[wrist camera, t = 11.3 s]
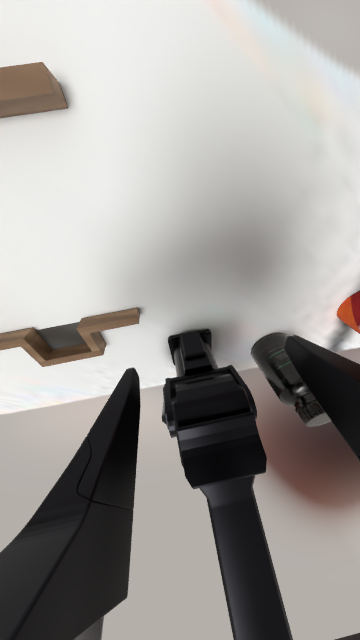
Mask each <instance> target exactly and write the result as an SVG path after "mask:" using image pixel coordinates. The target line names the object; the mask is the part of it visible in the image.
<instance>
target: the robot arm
mask: <svg viewBox="0 0 360 640" xmlns="http://www.w3.org/2000/svg"><path fill="white" fill-rule="evenodd" d="M168 343H169V347H170V351H171V355H172V359H173V363H174V365H175V366H176V372H177V377H175V378H167V379H166V384H165V387H164V388H163V392H164V393H163V394H164V403H163V411H162V421H163V422H164V423H165V424H166V425H167V427H168V429H169V432H170V435H171V438H173V437H177V440H178V445H179V451H180V457H181V463H182V466H183V468H184V471H185V477H186V479H187V480H188V482H189V483H190V485H191V487H192V488H193V489H197V488H200V490H201V491H202V492H203V494H204V495H205V496H206V498H207V502H208V507H209V512H210V518H211V523H212V528H213V533H214V538H215V544H216V549H217V554H218V560H219V564H220V570H221V575H222V580H223V585H224V591H225V595H226V601H227V606H228V611H229V617H230V622H231V627H232V632H233V638H234V640H293V639H292V635H291V631H290V627H289V623H288V620H287V616H286V612H285V608H284V605H283V601H282V597H281V593H280V589H279V586H278V582H277V578H276V574H275V570H274V567H273V563H272V559H271V555H270V552H269V548H268V544H267V540H266V537H265V533H264V530H263V525H262V522H261V518H260V514H259V510H258V506H257V503H256V499H255V495H254V491H253V483H254V479H255V475H257V474H262V473H265V472H266V461H267V460H266V459H267V458H266V454H265V451H264V449H263V446H262V443H261V440H260V437H259V434H258V430H257V426H256V421H255V419H256V418H257V410H256V406H255V402H254V399H253V397H252V394H251V392H250V390H249V389H248V387H247V385H246V384H245V383H244V381H243V380H242V378H241V377H240V376H239V374H238V373H237V371H236V370H235V369H234V367H233V366H232V365H229V366H228V367H223V368H218V367H217V364H216V361H215V359H214V356H213V354H212V351H211V331H210V330H209V329H207V330H202V331H196V332H191V333H186V334H181V335H176V336H171V337H169V338H168ZM284 349H285V351H286V353H287V355H288V357H289V358H290V360H291V362H292V364H293V366H294V367H295V369H296V371H297V372H298V374H299V375H300V377H301V378H302V380H303V381H304V383H305V384H306V385H307V387H308V388H309V390H310V391H311V393H312V394H313V395H314V397H315V398H316V400H317V401H318V402H319V404H320V405H321V407H322V408H323V410H324V411H325V412H326V414H327V415H328V417H329V418H330V419H331V421H332V422H333V424H334V425H335V426H336V428H337V429H338V431H339V432H340V434H341V435H342V436H343V438H344V439H345V441H346V442H347V444H348V445H349V446H350V448H351V449H352V451H353V452H354V453H355V455H356V456H357V457H358V459H359V461H360V364H358V363H356V362H353V361H351V360H349V359H347V358H345V357H342V356H340V355H338V354H336V353H334V352H332V351H329V350H327V349H325V348H323V347H321V346H318V345H316V344H314V343H312V342H310V341H308V340H305V339H303V338H301V337H299V336H296V335H292V336H288V337H287V339H286V342H285V344H284ZM139 420H140V385H139V376H138V374H137V372H136V370H135V368H129V369H127V370H126V371H125V373H124V374H123V376H122V378H121V379H120V381H119V383H118V384H117V386H116V388H115V389H114V391H113V393H112V394H111V396H110V398H109V399H108V401H107V403H106V404H105V406H104V408H103V409H102V411H101V413H100V415H99V416H98V418H97V419H96V421H95V423H94V425H93V426H92V428H91V429H90V432H89V433H88V435H87V437H86V438H85V439H84V441H83V443H82V444H81V446H80V448H79V449H78V451H77V453H76V454H75V456H74V457H73V459H72V460H71V462H70V463H69V465H68V466H67V468H66V469H65V471H64V472H63V474H62V475H61V477H60V478H59V480H58V481H57V482H56V484H55V485H54V487H53V488H52V490H51V491H50V492H49V494H48V495H47V497H46V498H45V500H44V501H43V502H42V504H41V505H40V507H39V508H38V510H37V511H36V512H35V514H34V515H33V517H32V518H31V519H30V521H29V522H28V523H27V525H26V526H25V527H24V528H23V529H22V530H21V532H20V533H19V534H18V535H17V536H16V537H15V538H14V540H13V541H12V542H11V543H10V544H9V545H8V546H7V547H6V548H5V549H3V551H2V552H0V640H101V638H102V629H103V621H104V615H106V614H107V613H108V612H109V611H111V610H112V609H113V608H114V607H116V606H117V605H118V604H119V603H121V602H122V601H123V600H125V599H126V598H127V593H128V581H129V566H130V552H131V537H132V522H133V507H134V492H135V478H136V463H137V449H138V434H139ZM335 640H360V633H358V634H354V635H350V636H346V637H343V638H339V639H335Z"/></svg>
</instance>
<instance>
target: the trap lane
mask: <svg viewBox="0 0 360 640" xmlns="http://www.w3.org/2000/svg"><path fill="white" fill-rule="evenodd" d="M65 108H68V107H67V104H66V101H65V98H64V95H63V93H62V90H61V87H60V84H59V82H58V81H57V80H56V78H55V77H54V76H53V75H52V73H51V72H50V71H49V70H48V68H47V67H46V66H45V65H44V63H43V62H39V63H31V64H24V65H16V66H9V67H1V68H0V118H3V117H10V116H17V115H24V114H31V113H37V112H44V111H51V110H58V109H65ZM139 318H140V313H139V310H138V308H134V309H129V310H123V311H118V312H113V313H107V314H102V315H97V316H92V317H86V318H82V319H81V321H80V322H78V323H73V324H68V325H63V326H57V327H52V328H47V329H42V330H35V329H34V328H28V329H23V330H18V331H13V332H7V333H2V334H0V350H5V349H10V348H15V347H20V346H21V347H22V348H23V349H24V350H25V351H26V352H27V353H28V354H29V355H30V356H31V357H33V358H34V359H35V360H36V361H37V362H38V363H39V364H40V365H41V366H42V367H45V366H51V365H56V364H61V363H66V362H71V361H76V360H81V359H86V358H91V357H96V356H101V355H103V354H104V350H105V347H106V343H105V341H104V340H103V338H102V336H101V335H100V333H99V331H103V330H108V329H113V328H119V327H124V326H129V325H134V324H139Z"/></svg>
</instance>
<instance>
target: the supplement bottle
mask: <svg viewBox="0 0 360 640" xmlns="http://www.w3.org/2000/svg"><path fill="white" fill-rule="evenodd" d="M287 337H288V336H286V335H284V334H271V335H268V336H266V337H264V338H262V339H261V340H259V341H258V342H257V343H256V344H255V345H254V347H253V349H252V357H253V359H254V360H255V362H256V364H257V365H258V367H259V368H260V370H261V371H262V373H263V375H264V376H265V378H266V379H267V381H268V382H269V384H270V385H271V387H272V388H273V390H274V392H275V393H276V395H277V396H278V398H279V399H280V400H281V401H282V402H283V403H284V404H286V405H289V406H294V407H296V409H295V411H296V413H297V414H298V415H299V416H300V417H301V419H302V420H303V422H304V423H305V425H306V426H318V425H322V424H325V423H328V422H331V419H330V418H329V417H328V415H327V414H326V412H325V411H324V410H323V408H322V407H321V405H320V404H319V402H318V401H317V400H316V398H315V397H314V395H313V394H312V393H311V391H310V390H309V388H308V387H307V385H306V384H305V383H304V381H303V380H302V378H301V377H300V375H299V374H298V372H297V371H296V369H295V367H294V366H293V364H292V362H291V360H290V358H289V357H288V355H287V353H286V351H285V349H284V344H285V342H286V339H287Z"/></svg>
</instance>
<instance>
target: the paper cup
mask: <svg viewBox="0 0 360 640" xmlns="http://www.w3.org/2000/svg"><path fill="white" fill-rule="evenodd" d="M337 316H338V317H339V318H340V319H341V320H342V321H343V322H345V323H346V324H347V325H349V326H350V327H351V328H353V329H354V330H355V331H357V332H358V333H359V334H360V291H359V292H357V293H355V294H353V295H352V296H350V297H349V298H347V299H346V300H345V301H344V302H343V303H342V304H341V306H340V307H339V309H338V311H337Z"/></svg>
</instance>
